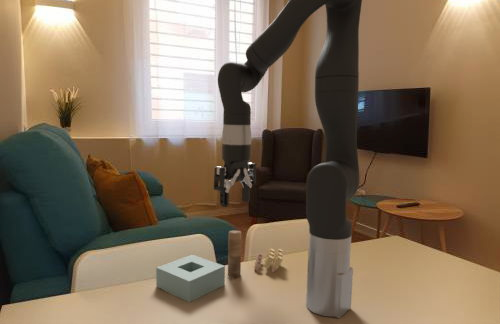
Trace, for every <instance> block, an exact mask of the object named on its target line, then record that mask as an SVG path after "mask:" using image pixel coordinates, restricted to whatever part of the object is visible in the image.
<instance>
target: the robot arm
mask: <svg viewBox="0 0 500 324" xmlns="http://www.w3.org/2000/svg"><path fill="white" fill-rule="evenodd" d="M362 2H363V0H288V1H287V3H286V4H285V6H283V8H282V9H281V10H280V12H279V13H278V15H277V16H276V17H275V19H273V21H272V22H271V23H270V24H269V25H268V26H267V27H266V29H264V31H262V32H261V34H259V36H257V38H255V39H254V41H253V42H251V43H250V45H249V46H248V47H247V48H246V50H245V57H246V61H245V62H244V63H237V62H233V61H229V62H225V63H224V64H223V65H222V66H221V67H220V69H219V70H218V73H217V85H218V90H219V94H220V96H219V97H220V99H221V100H220V101H221V103H222V107H223V123H222V124H223V127H222V135H221V139H222V140H221V141H222V142H221V159H222V161H223V162H224V164H223V166H214V172H213V173H214V174H213V175H214V177H213V190H215V191H217V192H219V204H220V206H221V207H223V208H228V207H229V206H230V190H231V187H232V186H233V185H235V183H237V182H240V184H241V185H242V188H241V201H242V202H245V203H249V202H250V200H251V188H252V187H253V186H254V185H256V184H257V164H256V163H255V162H254V163H253V162H250V161H251V160H252V130H251V125H252V124H251V121H252V120H251V119H252V109H251V105H250V104H249V102H247V101H244V98H243V95H242V94H243V93H248V92H250V91H253V89H255V88H256V87H257V86H258V85H259V83H260V82H261V80H262V79H263V78H264V76H265V75H266V73H267V71H268V70H269V68H271V67H272V66H273V65H274V64H275V63H276V62H277V61H278V60H279V59H280V58H281V57H282V56H284V55H285V53H286V52H287V51H288V50H289V49H290V47H291V46H292V45H293V43H294V41H295V39H296V38H297V35H298V33H299V31H300V30H301V28H302V26H303V25H304V23H306V21H307V20H308V19H309V17H311V16H312V15H313V14H314V13H315V12H316V11H318V10H319V9H320V8H322V7H323V6H324V5H325V12H326V13H325V15H326V32H325V33H326V34H325V40H324V43H323V46H322V49H321V50H320V54H319V56H318V60H317V63H316V67H315V71H314V72H315V73H314V74H315V75H314V100H315V106H316V112H317V114H318V117H319V121H320V124H321V126H322V127H321V128H322V129H323V132H324V133H323V134H324V139H325V157H324V162H321V163H319V164H318V163H317V165H315V166H313V168H312V169H311V170H310V171H309V172H308V173H309V174H308V176H307V178H306V189H305V199H306V200H305V201H306V202H305V205H306V207H305V209H306V210H305V211H306V212H305V213H306V214H305V215H306V220H307V223H308V230H309V231H308V235H309V236H308V251H307V271H306V272H307V275H306V295H305V296H306V297H305V299H306V300H305V301H306V302H305V304H306V307H307V309H308V310H309V311H310V312H312V313H314V314H316V315H319V316H324V317H333V318H334V317H335V318H338V319H341V318H342V317H343V316H344V315H345V314H346V313H347V312H348V311H349V310H350V309H351V308H352V294H353V293H352V292H353V276H354V268H353V267H352V266H351V249H352V235H353V234H352V233H353V225H352V222H351V221H350V220H349V219H347V211H346V210H347V201H348V200H350V199H351V198H352V197H354V195H356V193H357V191H358V190H359V186H360V168H359V156H358V155H359V154H358V144H357V141H358V138H357V135H358V133H357V132H358V110H359V109H358V106H359V87H360V86H359V77H360V74H359V73H360V71H359V57H360V54H359V53H360V52H359V51H360V50H359V49H360V47H359V46H360V45H359V42H360V41H359V39H360V38H359V33H360V32H359V30H360V29H359V27H360V18H361V11H362V5H363V4H362Z"/></svg>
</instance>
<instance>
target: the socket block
mask: <svg viewBox="0 0 500 324" xmlns="http://www.w3.org/2000/svg"><path fill="white" fill-rule="evenodd" d="M155 269H156V272H155V276H156V278H155V279H156V280H155V281H156V286H157V287H156V288H158V287H159V289H160V288H161V290H162V289H163V290H162V291H165V292H167V293H169V294H171V295H173V296H175V297H177V298H179V299H182V300H184V301H186V302H188V303H191V302H192V301H194V300H197V299H199V298H201V297H203V296H205V295H207V294H209V293H211V292H213V291H215V290H217V289H219V288H222V287H224V286H225V284H226V283H225V282H226V281H225V280H226V279H225V277H226V276H225V274H226V266H225V265H223V264H221V263H217V262H215V261H212V260H208V259H206V258H204V257H200V256H197V255H195V254H190V255H187V256H184V257H182V258H179V259H176V260H174V261H171V262H168V263H165V264H162V265H160V266H159V265H158V266H157V267H156V268H155Z"/></svg>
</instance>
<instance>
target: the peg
mask: <svg viewBox="0 0 500 324" xmlns="http://www.w3.org/2000/svg"><path fill="white" fill-rule="evenodd" d="M227 240H228V242H227V245H228V247H227V250H228V251H227V255H228V256H227V277H228V276H229V277H228V278H230V279H238V278H240V277H241V272H242V270H241V263H242V262H241V261H242V231H241V230H229V231H228V239H227ZM237 277H238V278H237Z"/></svg>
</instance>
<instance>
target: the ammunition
mask: <svg viewBox="0 0 500 324" xmlns="http://www.w3.org/2000/svg"><path fill="white" fill-rule="evenodd" d="M265 255H266V256H265V257H263V255H262V254H258V253H257V256H256V258H255V262H254V267H253V270H257V271H258V270H259V269H260V268H261V266H262V262H263V258H265V260H264V264H263V267H264V268H266V269H269V268H270V267H271V272H272V273H275V272H276V271H278V269H279V268H280V265H281V263H282V262H283V260H284V258H283V256H284V250H283V249H282V248H278V249H277V251H276V253H275V249H274V248H271V247H270V248H269V249H268V252H267V253H266V254H265Z"/></svg>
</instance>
